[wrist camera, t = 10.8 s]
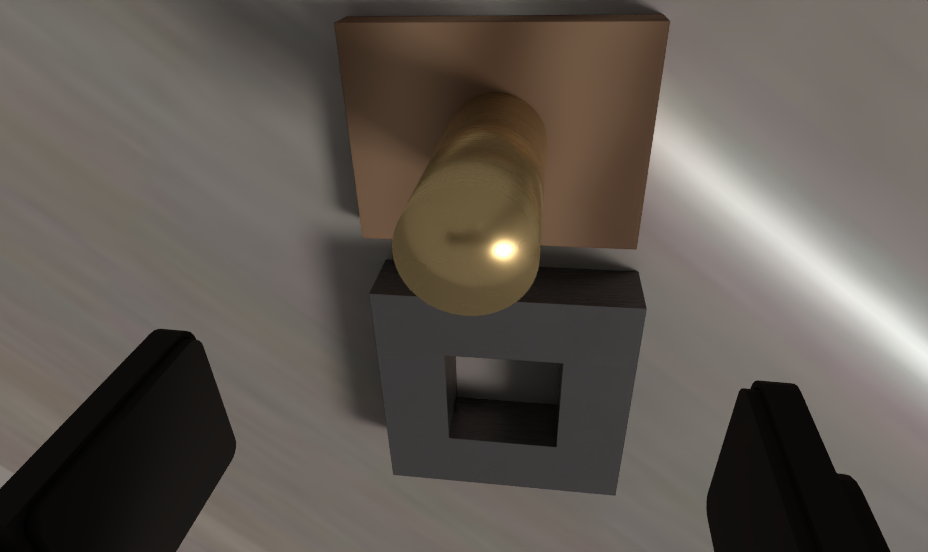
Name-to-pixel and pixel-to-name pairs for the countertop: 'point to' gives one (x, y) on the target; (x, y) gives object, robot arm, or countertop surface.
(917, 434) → the countertop surface
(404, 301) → the grey square frame
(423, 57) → the board
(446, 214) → the key peg
